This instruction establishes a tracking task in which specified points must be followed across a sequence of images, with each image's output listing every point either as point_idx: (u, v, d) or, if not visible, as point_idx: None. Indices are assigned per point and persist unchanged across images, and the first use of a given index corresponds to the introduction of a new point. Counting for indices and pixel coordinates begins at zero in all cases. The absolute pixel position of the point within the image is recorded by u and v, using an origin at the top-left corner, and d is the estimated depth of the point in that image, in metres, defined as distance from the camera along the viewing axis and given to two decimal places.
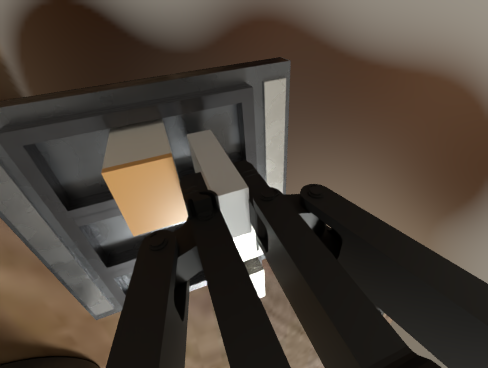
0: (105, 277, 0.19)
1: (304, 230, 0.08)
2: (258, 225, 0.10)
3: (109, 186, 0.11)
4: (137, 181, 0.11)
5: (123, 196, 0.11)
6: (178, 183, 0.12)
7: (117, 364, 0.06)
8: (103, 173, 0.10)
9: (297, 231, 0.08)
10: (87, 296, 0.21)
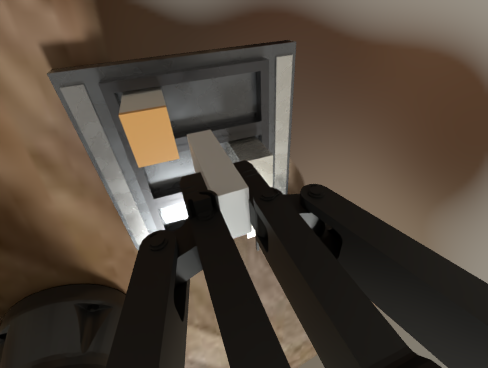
0: (151, 207, 0.25)
1: (304, 230, 0.08)
2: (258, 225, 0.10)
3: (123, 125, 0.16)
4: (142, 123, 0.16)
5: (132, 134, 0.17)
6: (170, 128, 0.17)
7: (117, 364, 0.06)
8: (120, 115, 0.16)
9: (297, 231, 0.08)
10: (134, 226, 0.27)
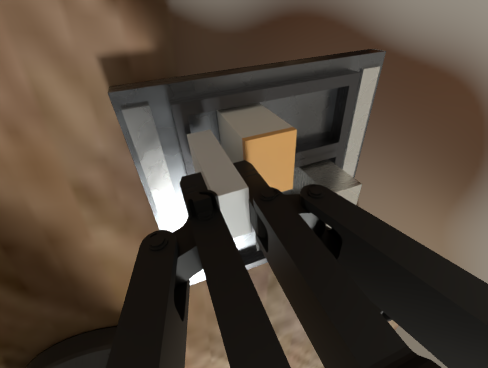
0: None
1: (304, 230, 0.08)
2: (258, 225, 0.10)
3: (246, 153, 0.13)
4: (266, 150, 0.13)
5: (253, 163, 0.13)
6: (294, 154, 0.14)
7: (117, 364, 0.06)
8: (245, 141, 0.12)
9: (297, 231, 0.08)
10: None
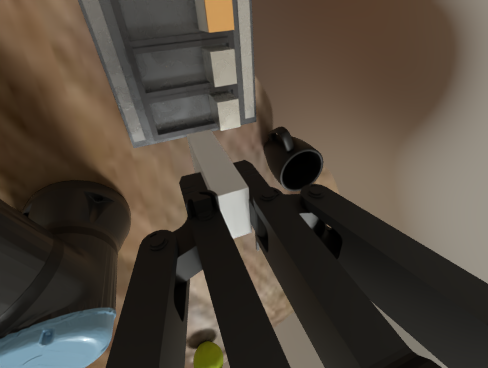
0: (144, 101, 0.33)
1: (304, 230, 0.08)
2: (258, 225, 0.10)
3: None
4: None
5: (209, 3, 0.26)
6: (231, 2, 0.27)
7: (117, 364, 0.06)
8: None
9: (297, 231, 0.08)
10: (131, 122, 0.35)
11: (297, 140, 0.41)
